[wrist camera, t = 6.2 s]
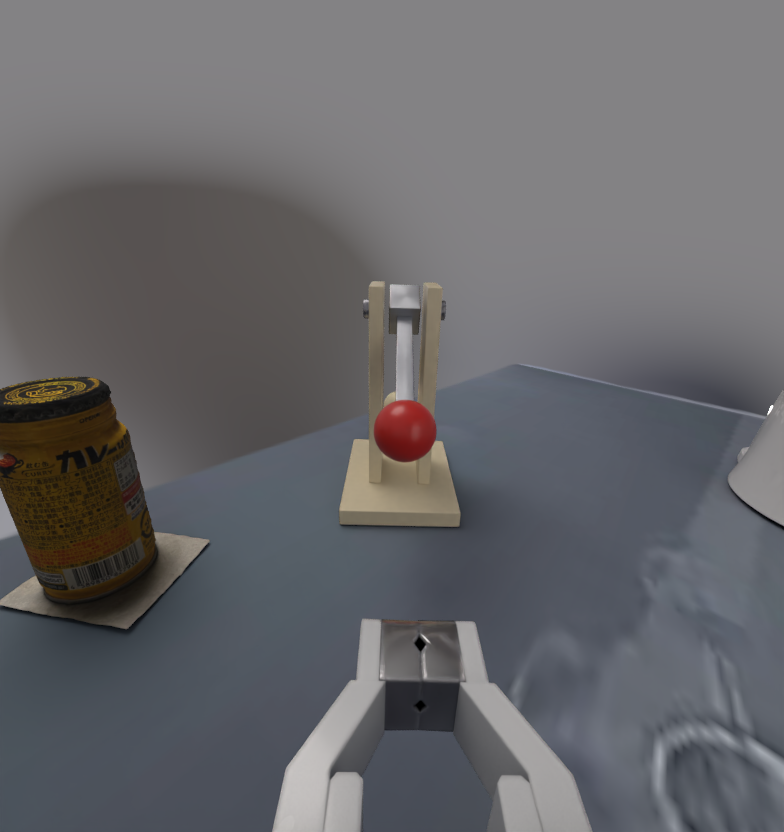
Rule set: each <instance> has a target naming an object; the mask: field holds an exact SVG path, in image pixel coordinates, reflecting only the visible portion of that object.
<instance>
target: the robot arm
mask: <svg viewBox="0 0 784 832" xmlns="http://www.w3.org/2000/svg"><path fill="white" fill-rule="evenodd" d="M737 460H738V464H737V465H736V466H735V467H734V468H733V470H732V471H731V472H730V473H729V475H728V483H729V485H730V487H731V488H732V490H733V491H734V492H735V493H736V494H737V495H738V496H739V497H740V498H741V499H742V500H743V501H745V502H746V503H747V504H748V505H750V506H751V507H752V508H754V509H755V510H757V511H758V512H760V513H761V514H763V515H765V516H766V517H768V518H770V519H771V520H773V521H775V522H777V523H779V524H781V525H783V526H784V390H783V391H782V392H781V394H780V395H779V397H778V399H777V400H776V402H775V404H774V405H773V406H771V408H770V410H769V412H768V415H767V417H766V419H765V421H764V422H763V424H762V426H761V427H760V429H759V431H758V433H757V434H756V436H755V438H754V440H753V441H752V443H751V445H750V447H749V448H748V447H747V448H743V449H742V450H741V451H740V453H739V455H738V456H737ZM384 730H426V731H445V732H453V735H454V736H455V738H456V740H457V741H458V743H459V745H460V747H461V748H462V750H463V752H464V753H465V755H466V757H467V758H468V760H469V762H470V763H471V765H472V767H473V769H474V770H475V772H476V774H477V775H478V777H479V779H480V780H481V782H482V784H483V785H484V787H485V789H486V791H487V792H488V794H489V796H490V797H491V799H492V801H493V805H492V809H491V813H490V818H489V822H488V827H487V831H486V832H592V829H591V826H590V823H589V820H588V817H587V814H586V811H585V808H584V805H583V803H582V800H581V797H580V794H579V791H578V788H577V785H576V782H575V779H574V776H573V774H572V773H571V772H570V771H569V770H568V768H567V767H566V766H565V765H564V764H563V763H562V761H561V760H560V759H559V758H558V757H557V756H556V754H555V753H554V752H553V751H552V750H551V749H550V747H549V746H548V745H547V744H546V743H545V741H544V740H543V739H542V738H541V737H540V736H539V734H538V733H537V732H536V731H535V730H534V729H533V727H532V726H531V725H530V724H529V723H528V721H527V720H526V719H525V718H524V717H523V716H522V714H521V713H520V712H519V711H518V710H517V709H516V707H515V706H514V705H513V704H512V703H511V702H510V700H509V699H508V698H507V697H506V696H505V694H504V693H503V692H502V691H501V690H500V689H499V687H498V686H497V685H496V684H495V683H489V680H488V676H487V672H486V667H485V663H484V658H483V654H482V649H481V645H480V640H479V636H478V631H477V627H476V624H475V623H474V622H471V621H425V620H418V621H404V620H384V619H382V622H381V619H362V623H361V631H360V642H359V654H358V665H357V676H356V680H350V681H349V683H348V684H347V685H346V687H345V688H344V690H343V691H342V692H341V694H340V695H339V696H338V698H337V699H336V701H335V702H334V703H333V705H332V706H331V707H330V709H329V710H328V711H327V713H326V714H325V716H324V717H323V718H322V720H321V721H320V722H319V724H318V725H317V727H316V728H315V729H314V731H313V732H312V733H311V735H310V736H309V737H308V739H307V740H306V742H305V743H304V744H303V746H302V747H301V748H300V750H299V751H298V753H297V754H296V755H295V757H294V758H293V759H292V761H291V762H290V764H289V765H288V766H287V768H286V771H285V775H284V780H283V785H282V789H281V794H280V798H279V803H278V808H277V812H276V817H275V822H274V826H273V831H272V832H363V779H362V778H361V777H362V775H363V773H364V771H365V770H366V768H367V766H368V764H369V762H370V760H371V758H372V756H373V754H374V752H375V750H376V748H377V746H378V744H379V742H380V740H381V739H382V737H383V735H384Z"/></svg>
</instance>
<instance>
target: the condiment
mask: <svg viewBox="0 0 784 832" xmlns="http://www.w3.org/2000/svg"><path fill="white" fill-rule="evenodd" d="M110 393H111V391H110V389H109V386H108V385H106V384H105V383H104V382H102V381H100V380H98V379H95V378H90V377H61V378H50V379H42V380H36V381H30V382H25V383H20V384H16V385H12V386H8V387H6V388H2V389H0V488H1V491H2V494H3V497H4V499H5V501H6V503H7V506H8V508H9V511H10V514H11V516H12V518H13V521H14V523H15V526H16V528H17V530H18V533H19V536H20V538H21V540H22V543H23V545H24V547H25V550H26V552H27V555H28V557H29V560H30V562H31V565H32V567H33V570H34V572H35V575H36V576H34V577H32V578H31V579H29V580H28V581H26V582H24V583H23V584H21V585H20V586H19V587H18V588H16V589H15V590H13V591H12V592H10V593H9V594H8V595H6V596H5V597H4V598H2V599H1V600H0V605H3V606H7V607H11V608H16V609H19V610H24V611H31V612H34V613H38V614H44V615H45V614H47V615H49V616H56V617H61V618H73V619H76V620H79V621H85V622H89V623H93V624H99V625H111V626H114V627H118V628H123V629H128V628H129V627H130V626H131V625H132V624H133V623H134V622H135V621H136V619H137V618H138V617H140V616H141V615H143V614H144V612H145V611H146V610H147V609H148V608H149V607H150V606H151V605H152V604H153V603H154V602H155V601H156V599H157V598H158V597H159V596H160V595H161V594H163V593H164V592H165V590H166V589H167V588H168V587H169V586H170V585H171V584H172V583H173V581H174V580H175V579H176V578H177V577H178V576H179V575H182V573H183V571H184V570H185V568H186V567H187V566H188V564H189V563H190V562H191V561H192V560H193V559H194V558H195V557H196V556H197V555H198V554H199V553H200V551H201V550H202V549H203V548H204V547H205V545H206V544H207V543H208V542H209V541H210V540H205V539H201V538H191V537H188V536H179V535H174V534H166V533H156V532H154V530H153V527H152V524H151V518H150V515H149V511H148V508H147V505H146V501H145V496H144V491H143V487H142V484H141V481H140V475H139V472H138V469H137V463H136V460H135V454H134V452H133V450H132V445H131V442H130V435H129V432H128V430H127V429H126V427H125V426H124V425H123V424H122V423H121V422H119V421H118V420H117V419H116V409H115V407H114V405H113V404H112V403H111V398H110V397H109V396H110Z"/></svg>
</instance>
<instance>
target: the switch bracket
mask: <svg viewBox="0 0 784 832" xmlns="http://www.w3.org/2000/svg"><path fill="white" fill-rule="evenodd" d="M442 292H443V288H442V287H441V286H439V285H438V284H437V283H424V287H423V307H422V327H421V328H422V329H421V347H420V368H419V387H418V403H420V404H422V405H423V406H425V407H426V408H427V409H428V410H429V411H430V413H431V414H432V416H433V418H434V410H435V395H436V380H437V365H438V350H439V336H440V322H441V320H444V319H445V313H446V302H445V301H442ZM384 306H385V282H381V281H380V282H379V281H373V282H372V283H371V285H370V286H369V299H364V302H363V317H364V318H367V319H369V440H365V439H354V442H353V447H352V452H351V456H350V461H349V466H348V471H347V475H346V480H345V485H344V489H343V494H342V499H341V504H340V508H339V523H340V524H342V525H390V526H438V527H459V524H460V515H461V513H460V509H459V505H458V501H457V497H456V493H455V489H454V485H453V481H452V477H451V473H450V469H449V465H448V461H447V458H446V454H445V450H444V446H443V442H442V441H435V442H434V444H433V446H432V448H431V449H430V451H429V452H428V453H427V454H426V455H425V456H423V457H422V458H420V459H418V460H416V461H413V462H406V463H404V462H397V461H394V460H392V459H390V458H388V457H387V456H385V455H384V454H383V453H382V452H381V451H380V449H379V448H378V446H377V444H376V442H375V439H374V424H375V420H376V418H377V416H378V414H379V413H380V411H381V410H382V409H383V383H384V379H383V378H384V315H385V314H384V312H385V310H384V309H385V307H384Z"/></svg>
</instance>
